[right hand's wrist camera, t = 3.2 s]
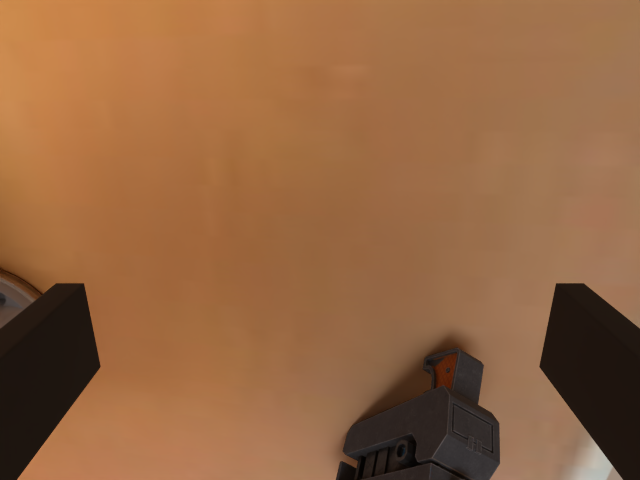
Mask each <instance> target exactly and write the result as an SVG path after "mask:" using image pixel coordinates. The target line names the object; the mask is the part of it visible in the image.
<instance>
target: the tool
mask: <svg viewBox="0 0 640 480" xmlns="http://www.w3.org/2000/svg"><path fill="white" fill-rule="evenodd" d="M483 367H484V365H483V364H482V362H481V361H479V360H477V359H476V358H474V357H472V356H471V355H469V354H467V353H466V352H464V351H462V350H461V349H459V348H454V349H451V350H447V351H444V352H440V353H437V354H434V355H430V356H427V357H425V359H424V364H423V370H425V371H426V372H428V373H430V374H431V377H432V383H431V390H428V391H426V392H424V393H423V394H422V395H420V396H418V397H416V398H413V399H411V400H409V401H407V402H404V403H402V404H400V405H398V406H395V407H393V408H391V409H389V410H386V411H384V412H382V413H380V414H377V415H375V416H373V417H371V418H368V419H366V420H364V421H362V422H359V423H357V424H355V425H353V426H352V427H351V429H350V430H349V432H348V433H347V437H346V441H345V444H344V448H343V452H344V453H345V454H346V455H347V456H349V457H351V458H353V459H355V460H357V461H358V464H357V469H356V468H354V467H353V466H351V465H349V464H347V463H345V462H343V461H341V462H340V465H339V469H338V473H337V477H336V480H490V478H491V477H492V475H493V474H494V472H495V470H496V469H497V467H498V466H499V464H500V438H499V422H498V421H497V420H496V418H495V417H494V415H493V414H492V413H491V412H489V411H488V410H486V409H484V408H482V407H481V406H479V405H478V401H479V394H480V387H481V381H482V374H483Z"/></svg>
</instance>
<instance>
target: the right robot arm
mask: <svg viewBox="0 0 640 480" xmlns="http://www.w3.org/2000/svg"><path fill="white" fill-rule="evenodd" d="M99 368H100V362H99V357H98V352H97V347H96V342H95V337H94V332H93V327H92V322H91V317H90V312H89V307H88V302H87V297H86V292H85V287H84V283H56V284H55V285H54V286H53V287H51V288H50V289H49V290H48V291H46V292H45V293H44V294H43V295H41V294H40V293H39V292H38V291H37V290H36V289H35V288H33V287H32V286H31V285H29V284H28V283H26V282H25V281H23V280H22V279H20V278H18V277H16V276H14V275H12V274H10V273H8V272H5V271H3V270H0V480H17V479H18V477H19V476H20V475H21V473H22V472H23V471H24V469H25V468H26V467H27V465H28V464H29V463H30V461H31V460H32V459H33V457H34V456H35V454H36V453H37V452H38V450H39V449H40V448H41V446H42V445H43V444H44V442H45V441H46V440H47V438H48V437H49V436H50V434H51V433H52V432H53V430H54V429H55V428H56V426H57V425H58V423H59V422H60V421H61V419H62V418H63V417H64V415H65V414H66V413H67V411H68V410H69V409H70V407H71V406H72V405H73V403H74V402H75V401H76V399H77V398H78V397H79V395H80V394H81V392H82V391H83V390H84V388H85V387H86V386H87V384H88V383H89V382H90V380H91V379H92V378H93V376H94V375H95V374H96V372H97V371H98V370H99ZM540 368H541V370H542V371H543V372H544V374H545V375H546V376H547V378H548V379H549V380H550V382H551V383H552V384H553V386H554V387H555V388H556V390H557V391H558V392H559V394H560V395H561V397H562V398H563V399H564V401H565V402H566V403H567V405H568V406H569V407H570V409H571V410H572V411H573V413H574V414H575V415H576V417H577V418H578V419H579V421H580V422H581V423H582V425H583V426H584V428H585V429H586V430H587V432H588V433H589V434H590V436H591V437H592V438H593V440H594V441H595V442H596V444H597V445H598V446H599V448H600V449H601V450H602V452H603V453H604V454H605V456H606V457H607V459H608V460H609V461H610V463H611V464H612V465H613V467H614V468H615V469H616V471H617V472H618V473H619V475H620V476H621V477H622V479H623V480H640V328H638V327H637V326H636V325H635V324H633V323H632V322H631V321H630V320H628V319H627V318H626V317H625V316H623V315H622V314H621V313H620V312H618V311H617V310H616V309H615V308H614V307H612V306H611V305H610V304H609V303H607V302H606V301H605V300H604V299H602V298H601V297H600V296H599V295H597V294H596V293H595V292H594V291H592V290H591V289H590V288H589V287H587V286H586V285H585V284H584V283H556V287H555V292H554V297H553V302H552V307H551V312H550V317H549V322H548V327H547V332H546V337H545V342H544V347H543V352H542V357H541V362H540Z"/></svg>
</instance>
